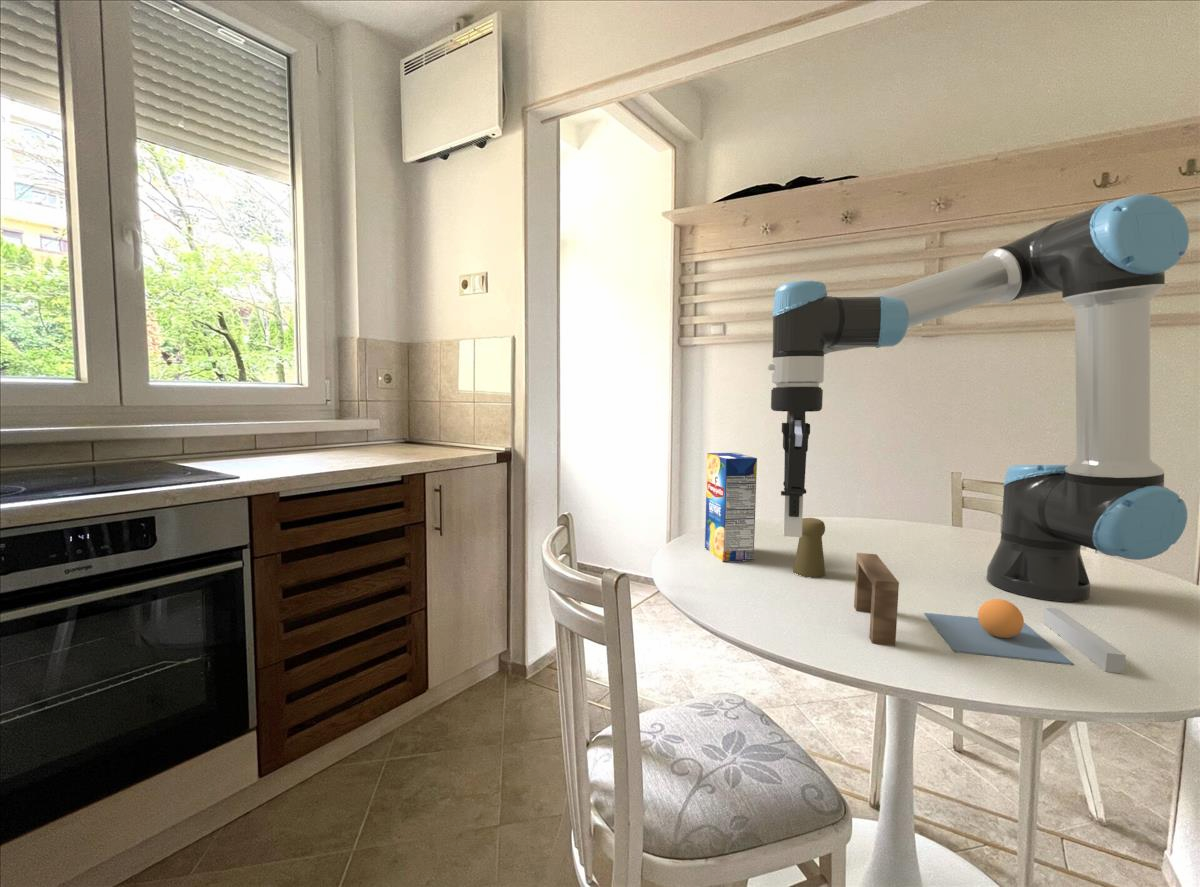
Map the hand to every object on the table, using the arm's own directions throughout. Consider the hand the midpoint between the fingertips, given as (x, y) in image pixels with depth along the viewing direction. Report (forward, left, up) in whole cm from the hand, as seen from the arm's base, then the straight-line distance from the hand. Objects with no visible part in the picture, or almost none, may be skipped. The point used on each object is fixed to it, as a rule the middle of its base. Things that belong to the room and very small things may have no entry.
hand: (792, 535), depth 89 cm
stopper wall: (-39, 0, -13) cm, 41 cm away
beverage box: (+11, -33, -13) cm, 37 cm away
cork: (-5, -24, -13) cm, 28 cm away
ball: (-29, 0, -10) cm, 31 cm away
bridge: (-12, 0, -13) cm, 18 cm away
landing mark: (-28, 0, -13) cm, 31 cm away
